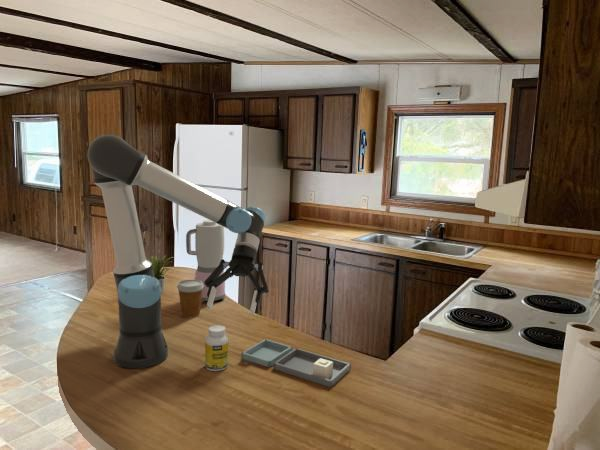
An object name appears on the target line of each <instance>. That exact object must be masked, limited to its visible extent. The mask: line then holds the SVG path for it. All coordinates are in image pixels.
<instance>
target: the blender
mask: <svg viewBox="0 0 600 450" xmlns="http://www.w3.org/2000/svg"><path fill="white" fill-rule="evenodd" d="M192 234H195V235H194V237H195V238H194V239H195V241H194V243H195V244H194V245H195V247H194V248H195V250H192V245H191V244H192V243H191V242H192V241H191V235H192ZM185 247H186V253H187V254H188V255H190V256H196V262H197V268H196V270H195V272H194V280H199V281H202V283H203V285H204V287H203V289H202V298H201V304H203V303H204V302H206V301H207V302H208V299H209V298H208V297H207V293H208V289H209V287H206V285H205V283H204V282H205V280H206V279H207V278H208V277H209V276H210V275H211V274H212V272H213V271H214V270H215V269H216V268H217V267H218V266H219V264H220V261H221V260H222V259H224V252H225V227H223V226H221V225H219V224H217V223H215V222H213V221H211V220H209V219H206V220H203V221H202V222H199V223H196V225H195V228H193V229H189V230H187V232H186V235H185ZM224 272H225V270H224V271H223V272H222V273H221V274H223V273H224ZM221 274H220V275H221ZM220 275H219V276H220ZM219 276H218V277H219ZM215 289H216V290H217V291H216V295H215V298H214V301H219V300H221V301H225V299H226V281H224V282H223V283H222V284H220V285H219V286H218V287H217V288H215Z"/></svg>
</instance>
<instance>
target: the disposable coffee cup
mask: <svg viewBox="0 0 600 450" xmlns="http://www.w3.org/2000/svg"><path fill="white" fill-rule="evenodd" d="M203 287H204V285H203V283H202V281H199V280H195V279H184V280H181V281H179V282H178V283H177V286H176V288H177V290H178V295H179V301H180V310H181V315H182V317H185V318H195V317H198V316H199V315H200V314H201V313H200V311H201V307H202V306H201V304H202V303H201V298H202V289H203Z"/></svg>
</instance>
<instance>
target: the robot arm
mask: <svg viewBox="0 0 600 450" xmlns="http://www.w3.org/2000/svg"><path fill="white" fill-rule="evenodd" d="M86 155H87V161H88V163H89V165H90V168H91V172H92V178H93V182H94V185H96V186H97V187H98V188H100V190H101V194H102V198H103V203H104V208H105V212H106V217H107V218H106V219H107V222H108V223H107V224H108V228H109V231H110V232H109V233H110V237H111V242H112V247H113V251H114V257H115V262H116V266H114V268H113V270H112V271H113V276H114V282H115V283H114V284H115V287H116V292H117V303H118V304H117V305H118V322H119V323H118V324H119V335H118V338H117V343H116V347H115V348H114V350H113V361H114V364H116V365H117V366H119V367H121V368H124V369H144V368H150V367H154V366H156V365H158V364H161V363H162V362H164V361H165V360H166V359H167V358H168V356H169V347H168V346H169V345H168V344H167V342H166V338H165V336H164V333H163V330H162V293H161V287H160V282H159V281H158V280H157V279H156V278H155V277H154V272H153V267H152V261H150V260H148V259H147V258H146V253H145V246H144V243H143V237H142V231H141V227H140V222H139V217H138V212H137V206H136V201H135V197H134V191H133V186H137V187H138V186H139V187H141V188H143V189H144V190H147V191H149V192H151V193H152V194H155V195H157V196H160V197H161V198H164V199H165V200H168V201H170V202H172V203H174V204H176V205H177V206H180V207H182V208H184V209H186V210H188V211H190V212H192V213H194V214H197V215H199V216H201V217H203V218H205V219H206V220H211V221H213V222H215V223H217V224H219V225H221V226H223V227H224V229H228V231H230V232H232V233H235V234H237V237H236V241H235V245H234V248H233V252H232V255H231V259H230V260H229V261H227V260H225V259H224V258H223V259H222V260H221V261H220V264H219V266H218V267H217V268H216V269H215V270H214V271H213V272H212V274H211V275H210V276H209V277H208V278H207V279H206V280H205V282H204V283H205V285H206V287H209V289H208V293H207V297H208V298H209V299H208V301H207V303H206V307H207V309H208V310H210V311H211V310H212V309H213V304H214V301H215V300H214V298H215V295H216V291H217V290H216V289H215V288H217V287H218V286H219V285H220V284H222V283H223V282H224V281H225V282H226V281H227V280H228V279H230V278H232V277H234V276H235V277H244V278H245V277H246V276H247V277H248V279H249V280H250V283H252V284H253V286H254V293H253V297H252V300H251V305H250V308H249V311H250V313H251V314H252V315H255V312H256V308H257V304H260V303H261V300H262V296H263V294H265V293H266V294H267V293H269V291H270V290H269V288H268V284H267V281H266V278H265V274H264V265H263V263H262V262H258V263H255V262H256V259H257V254H258V250H259V245H260V241H261V237H262V233H263V229H264V226H265V220H266V214H265V212H264V210H262V209H261V208H259V207H255V206H248V207H246V208H243V207H241V206H239V205H237V204H235V203H233V202H231V201H229V200H228V199H226V198H223V197H221V196H219V195H218V194H215V193H213V192H211V191H210V190H207V189H205V188H203V187H202V186H199V185H197V184H195V183H193V182H192V181H190V180H188V179H186V178H184V177H182V176H180V175H178V174H176V173H175V172H173V171H170V170H169V169H166V168H164V167H162V166H160V165H159V164H157V163H154V162H152V161H150V160H149V158H148V155H147V154H145V153H143V152H141V151H139V150H138V149H136V148H134V147H133V146H131V145H130V144H129V143H128V142H127V141H125V140H124V139H123V138H122V137H120V136H118V135H115V134H103V135H102V134H101V135H99V136H97V137H96V138H94V139H93V140H92V142H91V143H90V145H89V147H88V149H87V154H86ZM227 267H228V268H227ZM255 269H256V271H257V272H258V274H259V278H260V280H261V285H262V287H261V285H260V284H259V282H258V281H257V279H256V278H255V276H254V274H253V273H252V272H253V271H254V270H255ZM223 271H224V273H223V274H221V273H222V272H223ZM220 274H221V275H220ZM219 275H220V276H219ZM218 276H219V277H218ZM255 289H256V290H255Z"/></svg>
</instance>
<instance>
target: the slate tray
mask: <svg viewBox="0 0 600 450" xmlns="http://www.w3.org/2000/svg"><path fill="white" fill-rule="evenodd" d="M292 350H293V346H292V345H288V344H284V343H281V342H277V341H273V340H270V339H268V338H265V339H263V340H261V341H260V342H258V343H256V344H254V345H252V346H251V347H248V348H247V349H245V350H244V351H242V352H241V355H240V356H241V359H240V360H241V362H244V363H247V364H251V365H254V364H257V365H260V366H264V367H265V368H266V367H267V368H271V367H272V366H274V363H275V362H276V361H278V360H279V359H280V358H282V357H283V356H285V355H286V354H288V353H289V352H291V351H292Z"/></svg>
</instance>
